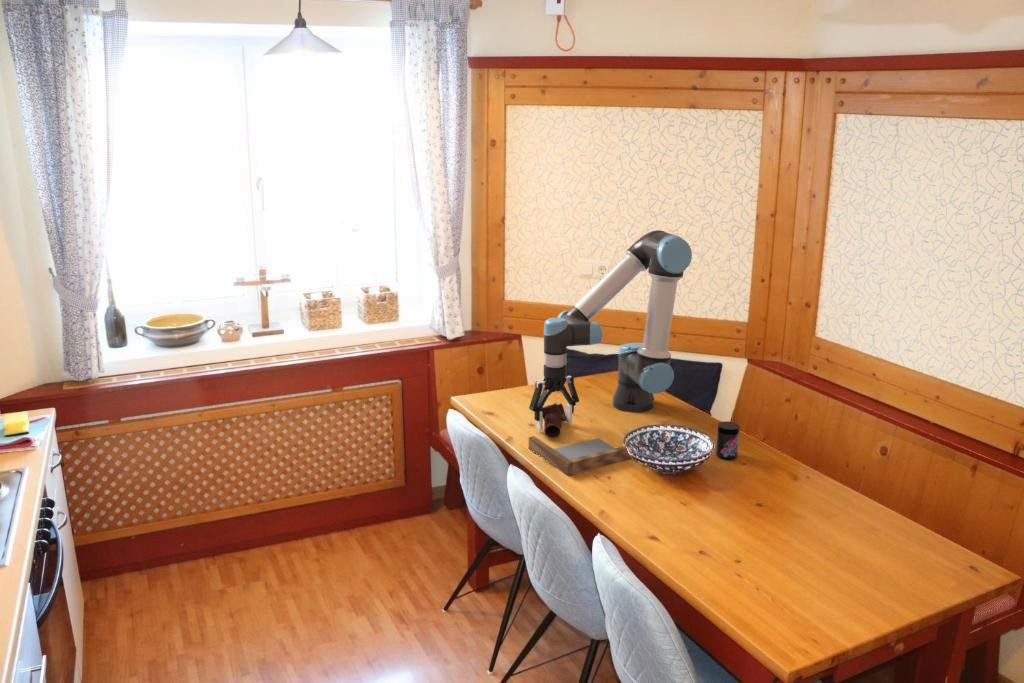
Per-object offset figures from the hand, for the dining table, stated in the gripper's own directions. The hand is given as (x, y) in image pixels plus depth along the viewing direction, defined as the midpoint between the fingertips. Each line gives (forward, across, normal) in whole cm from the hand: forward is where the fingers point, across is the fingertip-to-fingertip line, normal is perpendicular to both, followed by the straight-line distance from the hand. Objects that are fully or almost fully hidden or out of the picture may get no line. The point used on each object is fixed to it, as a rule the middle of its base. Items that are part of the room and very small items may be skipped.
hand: (554, 425), depth 293 cm
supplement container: (+1, -35, +46) cm, 58 cm away
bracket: (+1, +1, 0) cm, 2 cm away
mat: (+1, +2, +20) cm, 20 cm away
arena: (+1, +4, +21) cm, 22 cm away
